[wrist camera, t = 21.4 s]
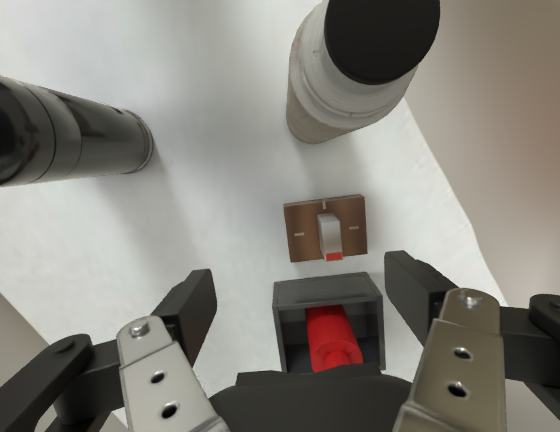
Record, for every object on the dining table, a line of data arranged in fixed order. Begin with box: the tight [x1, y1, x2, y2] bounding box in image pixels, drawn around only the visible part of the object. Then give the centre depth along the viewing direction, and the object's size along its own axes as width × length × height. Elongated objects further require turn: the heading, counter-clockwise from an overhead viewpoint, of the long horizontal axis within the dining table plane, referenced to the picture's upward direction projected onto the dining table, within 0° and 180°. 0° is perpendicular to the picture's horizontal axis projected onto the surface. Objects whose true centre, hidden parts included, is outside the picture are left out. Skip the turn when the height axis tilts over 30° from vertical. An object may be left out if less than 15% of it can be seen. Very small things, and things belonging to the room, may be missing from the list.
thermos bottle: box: [286, 0, 440, 144], centre depth 25 cm, size 8×8×28 cm
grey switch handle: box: [317, 213, 343, 261], centre depth 37 cm, size 6×2×5 cm, turn 8°
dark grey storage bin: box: [272, 272, 386, 375], centre depth 42 cm, size 16×13×8 cm
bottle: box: [305, 304, 363, 373], centre depth 36 cm, size 7×7×17 cm
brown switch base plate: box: [284, 195, 368, 263], centre depth 41 cm, size 12×10×3 cm
